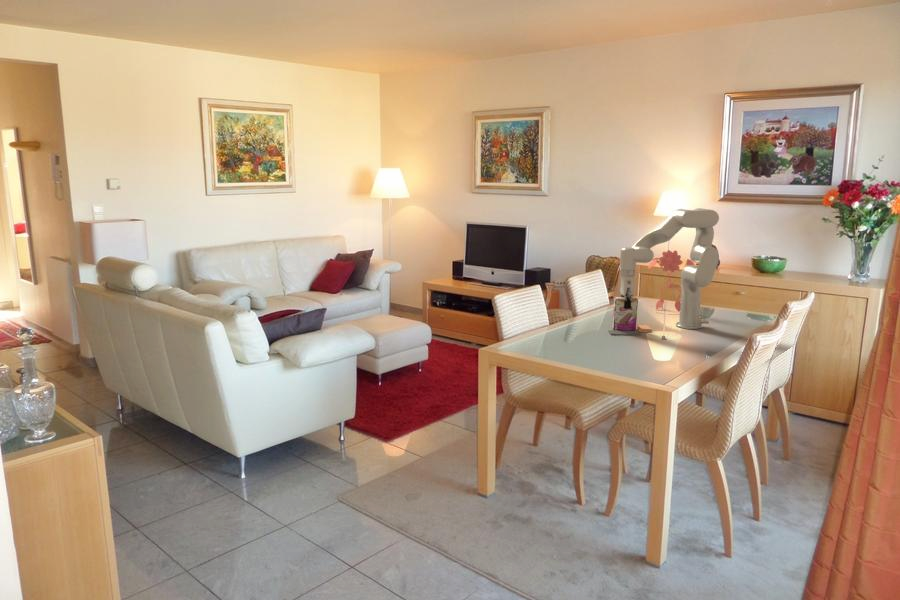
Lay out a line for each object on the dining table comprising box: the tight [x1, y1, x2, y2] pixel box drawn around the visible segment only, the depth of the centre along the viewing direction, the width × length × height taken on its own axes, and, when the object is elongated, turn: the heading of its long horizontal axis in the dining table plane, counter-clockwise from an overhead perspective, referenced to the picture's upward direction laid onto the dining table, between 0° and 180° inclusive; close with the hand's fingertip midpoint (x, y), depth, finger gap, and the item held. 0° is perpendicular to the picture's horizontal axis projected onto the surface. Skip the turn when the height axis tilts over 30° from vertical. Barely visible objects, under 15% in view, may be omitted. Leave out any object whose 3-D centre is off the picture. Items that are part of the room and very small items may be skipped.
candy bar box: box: [611, 296, 639, 331], centre depth 330 cm, size 11×5×16 cm, turn 84°
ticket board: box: [636, 324, 652, 333], centre depth 330 cm, size 6×8×2 cm
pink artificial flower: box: [647, 249, 695, 316], centre depth 368 cm, size 15×26×35 cm, turn 56°
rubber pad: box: [608, 329, 641, 336], centre depth 324 cm, size 14×7×1 cm, turn 87°
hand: (625, 306), depth 329 cm, fingers open, 9 cm apart
